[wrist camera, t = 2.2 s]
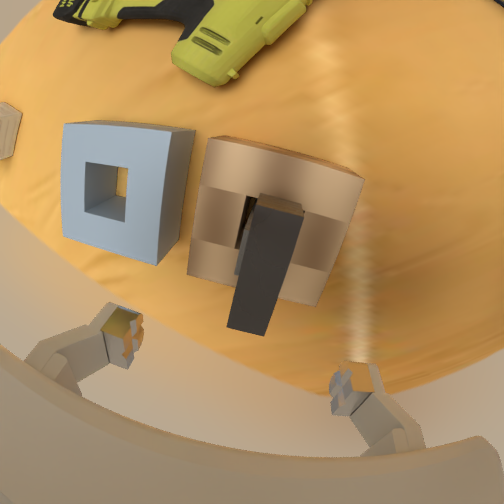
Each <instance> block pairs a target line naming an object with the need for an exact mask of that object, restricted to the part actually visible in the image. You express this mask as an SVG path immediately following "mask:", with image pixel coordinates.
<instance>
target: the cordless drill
mask: <svg viewBox="0 0 504 504" xmlns="http://www.w3.org/2000/svg"><path fill="white" fill-rule="evenodd" d="M310 4H312V0H60V2H59V4H58V5H57V7H56V9H55V11H54V12H53V17H55V18H56V19H59V20H62V21H65V22H68V23H73V24H77V25H83V26H88V27H94V28H98V29H101V30H106V29H107V28H108V27H112V28H115V27H117V26H118V25H119V23H120V22H121V21H122V20H123V19H168V20H173V21H179V22H181V23H183V24H184V25H185V29H184V31H183V33H182V35H181V37H180V38H179V40H178V42H177V44H176V45H175V47H174V49H173V50H172V52H171V57H172V63H173V64H175V65H176V66H178V67H179V68H181V69H183V70H184V71H186V72H188V73H189V74H191V75H193V76H195V77H197V78H198V79H200V80H202V81H204V82H206V83H207V84H209V85H211V86H213V87H216V86H220V85H224V84H226V83H227V82H228V81H229V80H230V79H231V78H233V79H237V78H238V77H239V74H238V73H237V72H238V71H239V70H240V69H241V68H242V67H243V66H244V65H245V64H246V63H247V62H248V61H249V60H250V59H251V58H252V57H253V56H254V55H255V54H256V53H257V52H258V51H259V50H260V49H261V48H262V47H263V46H264V45H265V44H266V45H271V44H272V43H273V42H274V41H275V40H276V39H277V38H278V37H279V36H280V35H281V34H283V33H284V32H285V31H286V30H287V29H288V28H289V27H290V26H291V25H292V24H293V23H294V22H295V21H296V20H297V19H298V18H300V17H301V16H302V15H303V14H304V13H305V12H306V7H305V5H310Z"/></svg>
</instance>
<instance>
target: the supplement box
mask: <svg viewBox="0 0 504 504" xmlns="http://www.w3.org/2000/svg"><path fill="white" fill-rule="evenodd" d="M21 116H22V113H21V112H19V111H18V110H16V109H15V108H13V107H12V106H10V105H8V104H7V103H5V102H2V103H0V160H2V159H4V158H7V157H10V156H13V151H14V146H15V141H16V136H17V132H18V128H19V124H20V120H21Z"/></svg>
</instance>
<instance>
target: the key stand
mask: <svg viewBox="0 0 504 504" xmlns="http://www.w3.org/2000/svg"><path fill="white" fill-rule="evenodd" d="M364 181H365V179H363V178H362V177H360V176H359V175H357V174H356V173H355V172H353V171H352V170H350V169H349V168H347V167H344V166H340V165H337V164H334V163H331V162H328V161H325V160H322V159H318V158H315V157H312V156H308V155H305V154H301V153H298V152H294V151H290V150H286V149H283V148H279V147H275V146H271V145H267V144H262V143H258V142H254V141H249V140H245V139H240V138H235V137H230V136H218V137H211V138H208V143H207V148H206V153H205V158H204V163H203V169H202V174H201V180H200V186H199V191H198V197H197V204H196V210H195V216H194V223H193V230H192V237H191V244H190V252H189V260H188V268H187V275H190V276H194V277H198V278H201V279H205V280H209V281H212V282H216V283H220V284H224V285H228V286H231V287H235V288H236V285H237V281H238V276H237V275H234V271H235V267H236V263H237V258H238V254H239V250H240V245H241V241H242V237H243V232H244V229H245V226H246V224H244V223H245V219H246V214H247V210H248V206H249V202H250V197H255V198H258V197H259V195H260V193H263V194H267V195H270V196H274V197H278V198H282V199H286V200H289V201H293V202H297V203H300V204H302V209H303V213H304V220H303V223H302V226H301V229H300V233H299V236H298V239H297V242H296V246H295V249H294V252H293V255H292V258H291V261H290V264H289V267H288V270H287V273H286V276H285V279H284V282H283V285H282V287H281V290H280V293H279V296H278V298H279V299H284V300H288V301H292V302H296V303H301V304H305V305H309V306H314V307H316V305H317V303H318V301H319V298H320V296H321V294H322V292H323V289H324V287H325V285H326V282H327V280H328V278H329V275H330V273H331V270H332V268H333V265H334V263H335V261H336V258H337V256H338V253H339V250H340V248H341V245H342V243H343V240H344V238H345V235H346V232H347V230H348V227H349V224H350V221H351V219H352V216H353V213H354V210H355V207H356V205H357V202H358V199H359V196H360V193H361V190H362V187H363V184H364Z"/></svg>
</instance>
